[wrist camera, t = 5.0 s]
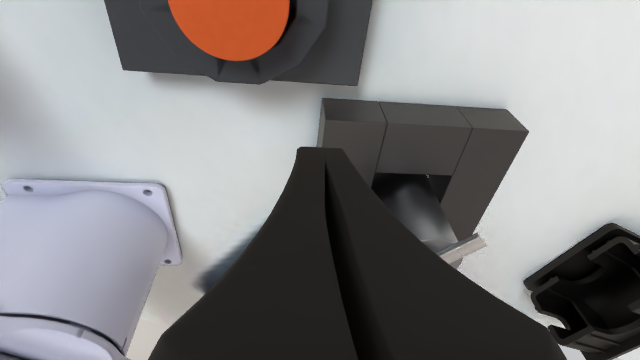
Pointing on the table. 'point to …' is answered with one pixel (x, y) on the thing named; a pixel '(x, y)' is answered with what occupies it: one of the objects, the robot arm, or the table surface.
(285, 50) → the control block
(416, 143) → the blender base
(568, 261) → the end cap
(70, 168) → the table surface
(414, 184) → the blade
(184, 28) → the button
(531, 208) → the table surface
